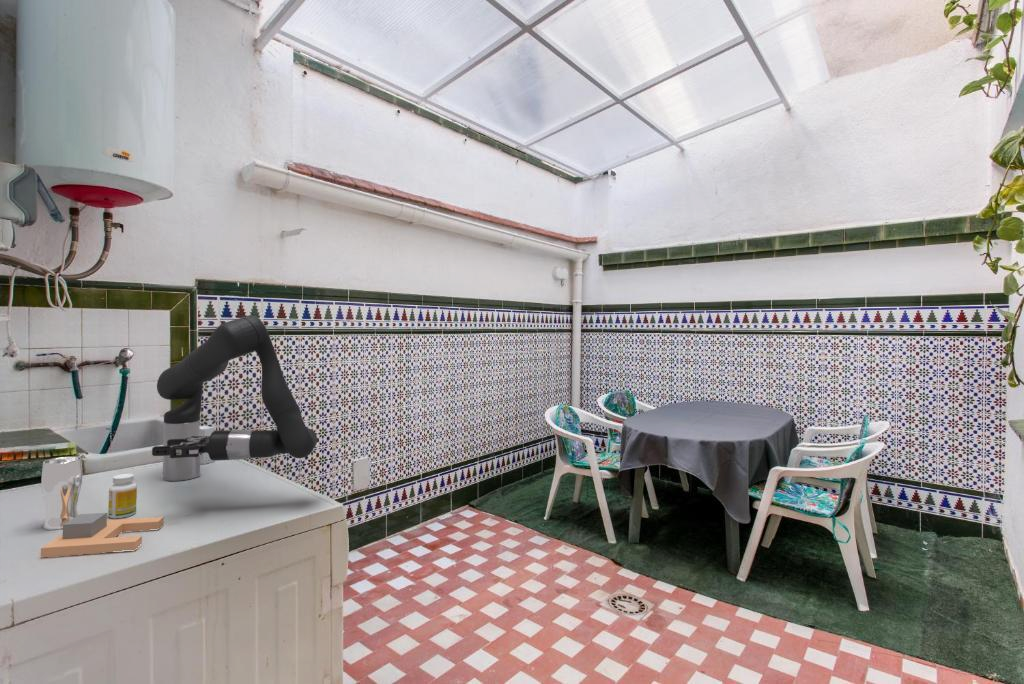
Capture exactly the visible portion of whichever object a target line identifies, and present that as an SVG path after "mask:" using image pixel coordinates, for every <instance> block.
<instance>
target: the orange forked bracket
mask: <svg viewBox="0 0 1024 684" xmlns="http://www.w3.org/2000/svg"><path fill="white" fill-rule="evenodd" d="M163 524H164V525H165V516H157V517H156V516H153V517H139V518H118V519H108V512H100V513H99V512H97V513H94V512H93V513H79V514H78V516H76V517H75V518H73V519H71V520H70V521H68V522H66V523H65V524H63V529H62V534H61V535H59V536H57V537H56V538H55V539H52V540H51V541H50V542H48V543H46V544H45V545H44V546H42V547H41V548H40V559H44V558H43V557H50V558H60V557H59V556H64V557H69V556H68V555H78V556H84V555H83V554H91V555H95V554H94V553H103V552H113V551H122V550H135V549H136V548H138V546H140V544H142V545H143V536H142V535H133V536H120V535H121V534H122V533H121V532H125V533H127V532H126V531H140V530H150V529H158V528H160V527H161V526H162V525H163ZM162 527H163V526H162ZM162 527H161V528H162ZM161 528H160V529H161ZM120 533H121V534H120ZM119 534H120V535H119ZM117 535H119V536H120V537H119V536H117ZM116 536H117V537H116ZM115 537H116V538H115ZM140 547H141V546H140ZM138 549H139V548H138ZM57 556H58V557H57Z"/></svg>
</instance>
